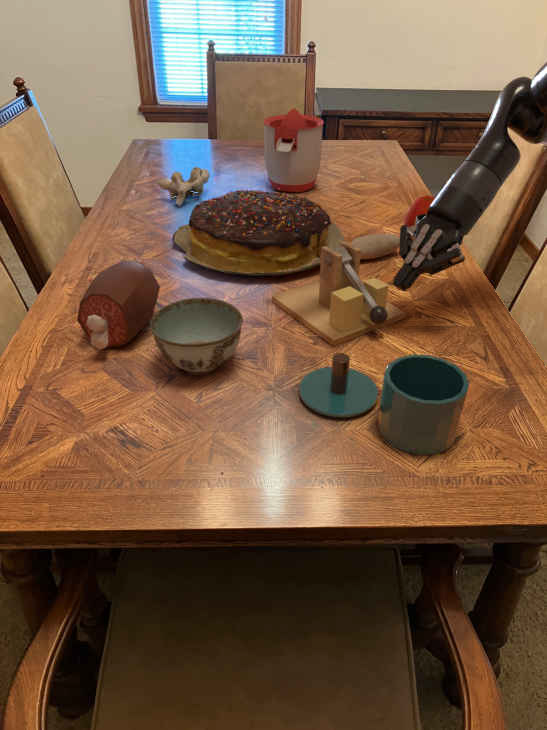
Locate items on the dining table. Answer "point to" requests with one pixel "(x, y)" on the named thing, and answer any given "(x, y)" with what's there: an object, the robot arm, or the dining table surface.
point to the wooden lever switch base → (329, 298)
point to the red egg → (418, 209)
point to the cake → (257, 233)
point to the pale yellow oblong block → (346, 309)
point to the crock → (422, 404)
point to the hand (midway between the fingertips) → (398, 287)
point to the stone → (376, 245)
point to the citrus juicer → (293, 150)
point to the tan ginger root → (185, 184)
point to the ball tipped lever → (362, 289)
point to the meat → (118, 303)
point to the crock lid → (338, 389)
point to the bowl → (197, 333)
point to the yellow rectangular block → (375, 293)
